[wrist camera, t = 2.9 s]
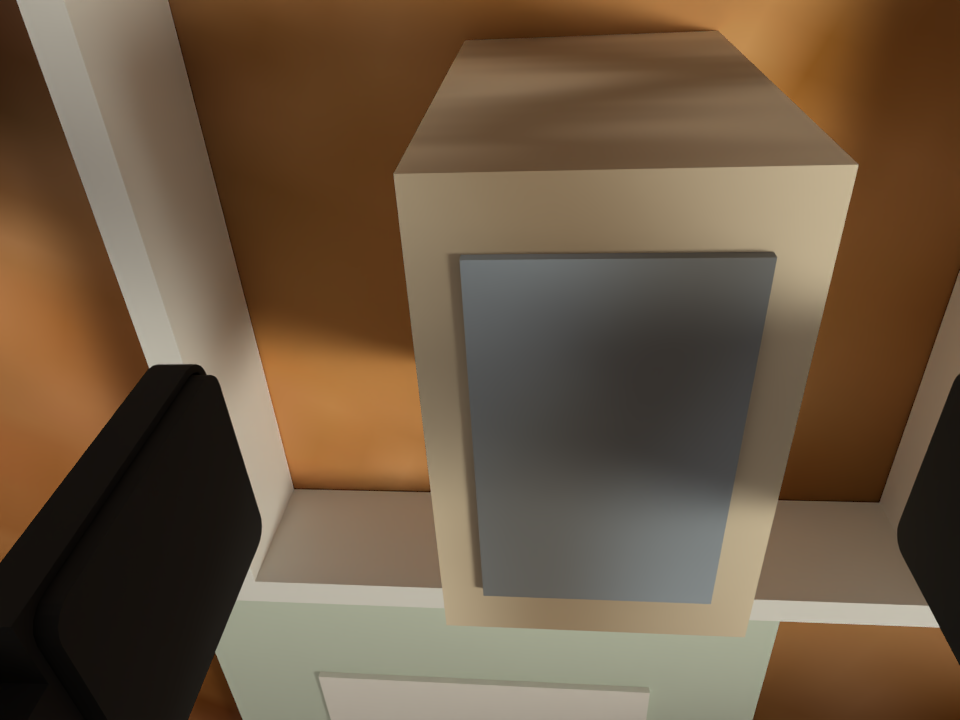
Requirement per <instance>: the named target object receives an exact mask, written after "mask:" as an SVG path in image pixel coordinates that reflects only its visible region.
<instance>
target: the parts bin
mask: <svg viewBox="0 0 960 720" xmlns="http://www.w3.org/2000/svg"><path fill="white" fill-rule="evenodd" d="M16 1H17V4H18V6H19V9H20V12H21V15H22V17H23V20H24V23H25V26H26V28H27V31H28V34H29V37H30V40H31V42H32V45H33V48H34V51H35V53H36V56H37V59H38V62H39V64H40V67H41V70H42V73H43V76H44V78H45V81H46V84H47V87H48V89H49V92H50V95H51V98H52V100H53V103H54V106H55V109H56V112H57V114H58V117H59V120H60V123H61V125H62V128H63V131H64V134H65V136H66V139H67V142H68V145H69V148H70V150H71V153H72V156H73V159H74V161H75V164H76V167H77V170H78V172H79V175H80V178H81V181H82V184H83V186H84V189H85V192H86V195H87V197H88V200H89V203H90V206H91V208H92V211H93V214H94V217H95V220H96V222H97V225H98V228H99V231H100V233H101V236H102V239H103V242H104V244H105V247H106V250H107V253H108V256H109V258H110V261H111V264H112V267H113V269H114V272H115V275H116V278H117V280H118V283H119V286H120V289H121V292H122V294H123V297H124V300H125V303H126V305H127V308H128V311H129V314H130V316H131V319H132V322H133V325H134V327H135V330H136V333H137V336H138V339H139V341H140V344H141V347H142V350H143V352H144V355H145V358H146V361H147V363H148V366H149V368H150V367H152V366H153V365H157V364H197V365H200V366H201V367H202V368H203V369H204V370H205V372H206V374H207V375H213V376H215V377H216V378H217V379H218V381H219V384H220V386H221V390H222V393H223V396H224V399H225V402H226V406H227V409H228V412H229V415H230V418H231V422H232V425H233V428H234V431H235V435H236V438H237V441H238V444H239V447H240V451H241V454H242V457H243V460H244V464H245V467H246V470H247V473H248V476H249V480H250V483H251V486H252V489H253V493H254V496H255V499H256V502H257V505H258V509H259V512H260V515H261V520H262V534H261V539H260V543H259V546H258V548H257V551H256V553H255V556H254V558H253V560H252V563H251V565H250V568H249V570H248V573H247V575H246V578H245V580H244V583H243V585H242V588H241V590H240V592H239V595H238V597H237V600H241V601H267V602H293V603H319V604H345V605H371V606H396V607H422V608H444V599H443V591H442V582H441V574H440V565H439V557H438V548H437V540H436V532H435V523H434V515H433V506H432V498H431V492H395V491H352V490H308V489H294V487H293V483H292V479H291V475H290V472H289V468H288V464H287V460H286V456H285V452H284V448H283V444H282V441H281V437H280V433H279V429H278V425H277V421H276V417H275V413H274V410H273V406H272V402H271V398H270V394H269V390H268V386H267V382H266V378H265V375H264V371H263V367H262V363H261V359H260V355H259V351H258V347H257V344H256V340H255V336H254V332H253V328H252V324H251V320H250V316H249V313H248V309H247V305H246V301H245V297H244V293H243V289H242V285H241V281H240V278H239V274H238V270H237V266H236V262H235V258H234V254H233V250H232V247H231V243H230V239H229V235H228V231H227V227H226V223H225V219H224V215H223V212H222V208H221V204H220V200H219V196H218V192H217V188H216V184H215V181H214V177H213V173H212V169H211V165H210V161H209V157H208V153H207V150H206V146H205V142H204V138H203V134H202V130H201V126H200V122H199V118H198V115H197V111H196V107H195V103H194V99H193V95H192V91H191V87H190V84H189V80H188V76H187V72H186V68H185V64H184V60H183V56H182V53H181V49H180V45H179V41H178V37H177V33H176V29H175V25H174V21H173V18H172V14H171V10H170V6H169V2H168V0H16ZM959 374H960V271H959V274H958V277H957V280H956V283H955V286H954V289H953V291H952V294H951V297H950V300H949V303H948V306H947V309H946V312H945V315H944V318H943V320H942V323H941V326H940V329H939V332H938V335H937V338H936V341H935V344H934V346H933V349H932V352H931V355H930V358H929V361H928V364H927V367H926V370H925V372H924V375H923V378H922V381H921V384H920V387H919V390H918V393H917V396H916V398H915V401H914V404H913V407H912V410H911V413H910V416H909V419H908V422H907V424H906V427H905V430H904V433H903V436H902V439H901V442H900V445H899V448H898V450H897V453H896V456H895V459H894V462H893V465H892V468H891V471H890V474H889V476H888V479H887V482H886V485H885V488H884V491H883V494H882V497H881V500H880V502H879V503H873V502H829V501H786V500H778V502H777V506H776V510H775V515H774V519H773V523H772V527H771V531H770V535H769V539H768V544H767V548H766V552H765V556H764V560H763V564H762V569H761V573H760V577H759V581H758V585H757V589H756V593H755V598H754V602H753V606H752V610H751V614H750V618H749V620H759V621H785V622H810V623H836V624H862V625H888V626H914V627H939V625H938V623H937V621H936V619H935V617H934V615H933V613H932V612H931V610H930V608H929V606H928V604H927V602H926V600H925V598H924V596H923V594H922V593H921V591H920V589H919V587H918V585H917V583H916V581H915V579H914V577H913V575H912V574H911V572H910V570H909V568H908V566H907V564H906V562H905V560H904V558H903V556H902V554H901V552H900V550H899V546H898V541H897V528H898V524H899V521H900V518H901V516H902V513H903V511H904V508H905V505H906V503H907V500H908V498H909V495H910V492H911V490H912V487H913V485H914V482H915V480H916V477H917V474H918V472H919V469H920V467H921V464H922V462H923V459H924V456H925V454H926V451H927V449H928V446H929V443H930V441H931V438H932V436H933V433H934V431H935V428H936V425H937V423H938V420H939V418H940V415H941V412H942V410H943V407H944V405H945V402H946V400H947V397H948V394H949V392H950V389H951V387H952V384H953V382H954V380H955V378H956V377H957V376H958V375H959Z"/></svg>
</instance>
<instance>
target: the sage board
mask: <svg viewBox="0 0 960 720" xmlns="http://www.w3.org/2000/svg"><path fill="white" fill-rule="evenodd" d="M779 623H780V621H759V620H749V623H748V627H747V631H746V635H745V637H725V636H700V635H676V634H651V633H627V632H602V631H577V630H553V629H528V628H503V627H479V626H454V625H446V616H445V608H422V607H396V606H371V605H345V604H319V603H293V602H267V601H241V600H236V602H235V605H234V607H233V610H232V612H231V615H230V617H229V620H228V622H227V624H226V627H225V629H224V632H223V634H222V637H221V639H220V642H219V644H218V647H217V649H216V652H215V653H216V655H217V658H218V660H219V663H220V665H221V667H222V670H223V672H224V675H225V677H226V680H227V682H228V685H229V687H230V690H231V692H232V695H233V697H234V699H235V702H236V704H237V707H238V709H239V712H240V714H241V717H242V719H243V720H753V717H754V713H755V709H756V706H757V702H758V699H759V695H760V691H761V688H762V684H763V681H764V677H765V673H766V670H767V666H768V663H769V659H770V655H771V652H772V648H773V644H774V641H775V637H776V634H777V630H778V626H779Z"/></svg>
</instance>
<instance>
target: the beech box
mask: <svg viewBox="0 0 960 720" xmlns="http://www.w3.org/2000/svg"><path fill="white" fill-rule="evenodd" d="M858 166H859V164H858V163H857V162H856V161H854V160H853V159H852V158H851V157H850V156H849V155H848V154H847V153H846V152H845V151H844V150H843V149H842V148H841V147H840V146H839V145H838V144H837V143H836V142H834V141H833V140H832V139H831V138H830V137H829V136H828V135H827V134H826V133H825V132H824V131H823V130H822V129H821V128H820V127H819V126H818V125H817V124H816V123H815V122H813V121H812V120H811V119H810V118H809V117H808V116H807V115H806V114H805V113H804V112H803V111H802V110H801V109H800V108H799V107H798V106H797V105H796V104H795V103H793V102H792V101H791V100H790V99H789V98H788V97H787V96H786V95H785V94H784V93H783V92H782V91H781V90H780V89H779V88H778V87H777V86H776V85H775V84H774V83H772V82H771V81H770V80H769V79H768V78H767V77H766V76H765V75H764V74H763V73H762V72H761V71H760V70H759V69H758V68H757V67H756V66H755V65H754V64H752V63H751V62H750V61H749V60H748V59H747V58H746V57H745V56H744V55H743V54H742V53H741V52H740V51H739V50H738V49H737V48H736V47H735V46H734V45H733V44H731V43H730V42H729V41H728V40H727V39H726V38H725V37H724V36H723V35H722V34H721V33H720V32H719V31H696V32H670V33H643V34H617V35H590V36H564V37H537V38H511V39H484V40H465V41H464V43H463V45H462V46H461V48H460V50H459V52H458V54H457V56H456V58H455V60H454V61H453V63H452V65H451V67H450V69H449V71H448V73H447V75H446V76H445V78H444V80H443V82H442V84H441V86H440V88H439V89H438V91H437V93H436V95H435V97H434V99H433V101H432V103H431V104H430V106H429V108H428V110H427V112H426V114H425V116H424V118H423V119H422V121H421V123H420V125H419V127H418V129H417V131H416V133H415V134H414V136H413V138H412V140H411V142H410V144H409V146H408V147H407V149H406V151H405V153H404V155H403V157H402V159H401V161H400V162H399V164H398V166H397V168H396V170H395V172H394V174H393V175H394V184H395V192H396V201H397V209H398V218H399V226H400V235H401V243H402V252H403V260H404V268H405V277H406V285H407V294H408V302H409V311H410V319H411V328H412V336H413V345H414V353H415V362H416V370H417V379H418V387H419V396H420V404H421V413H422V421H423V430H424V438H425V447H426V455H427V464H428V472H429V481H430V489H431V498H432V506H433V515H434V523H435V532H436V540H437V548H438V557H439V565H440V574H441V582H442V591H443V599H444V608H445V616H446V625H454V626H479V627H503V628H528V629H553V630H577V631H602V632H627V633H651V634H676V635H700V636H725V637H745V635H746V631H747V627H748V623H749V618H750V614H751V610H752V606H753V602H754V598H755V593H756V589H757V585H758V581H759V577H760V573H761V569H762V564H763V560H764V556H765V552H766V548H767V544H768V539H769V535H770V531H771V527H772V523H773V519H774V515H775V510H776V506H777V502H778V498H779V494H780V490H781V485H782V481H783V477H784V473H785V469H786V465H787V461H788V456H789V452H790V448H791V444H792V440H793V436H794V431H795V427H796V423H797V419H798V415H799V411H800V407H801V402H802V398H803V394H804V390H805V386H806V382H807V377H808V373H809V369H810V365H811V361H812V357H813V353H814V348H815V344H816V340H817V336H818V332H819V328H820V323H821V319H822V315H823V311H824V307H825V303H826V299H827V294H828V290H829V286H830V282H831V278H832V274H833V269H834V265H835V261H836V257H837V253H838V249H839V245H840V240H841V236H842V232H843V228H844V224H845V220H846V215H847V211H848V207H849V203H850V199H851V195H852V191H853V186H854V182H855V178H856V174H857V170H858Z"/></svg>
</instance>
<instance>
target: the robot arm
mask: <svg viewBox="0 0 960 720" xmlns="http://www.w3.org/2000/svg"><path fill="white" fill-rule="evenodd" d="M261 534H262V520H261V515H260V512H259V509H258V505H257V502H256V499H255V496H254V493H253V489H252V486H251V483H250V480H249V476H248V473H247V470H246V467H245V464H244V460H243V457H242V454H241V451H240V447H239V444H238V441H237V438H236V435H235V431H234V428H233V425H232V422H231V418H230V415H229V412H228V409H227V406H226V402H225V399H224V396H223V393H222V390H221V386H220V384H219V381H218V379H217V378H216V377H215V376H213V375H207V374H206V372H205V370H204V369H203V368H202V367H201V366H200V365H197V364H157V365H153V366H152V367H150V368H149V369H148V370H147V372H146V373H145V374H144V375H143V377H142V378H141V379H140V381H139V382H138V383H137V385H136V386H135V387H134V389H133V390H132V391H131V392H130V394H129V395H128V396H127V398H126V399H125V400H124V402H123V403H122V404H121V406H120V407H119V408H118V410H117V411H116V412H115V413H114V415H113V416H112V417H111V419H110V420H109V421H108V423H107V424H106V425H105V427H104V428H103V429H102V430H101V432H100V433H99V434H98V436H97V437H96V438H95V440H94V441H93V442H92V444H91V445H90V446H89V447H88V449H87V450H86V451H85V453H84V454H83V455H82V457H81V458H80V459H79V461H78V462H77V463H76V464H75V466H74V467H73V468H72V470H71V471H70V472H69V474H68V475H67V476H66V478H65V479H64V480H63V481H62V483H61V484H60V485H59V487H58V488H57V489H56V491H55V492H54V493H53V495H52V496H51V497H50V498H49V500H48V501H47V502H46V504H45V505H44V506H43V508H42V509H41V510H40V512H39V513H38V514H37V516H36V517H35V518H34V519H33V521H32V522H31V523H30V525H29V526H28V527H27V529H26V530H25V531H24V533H23V534H22V535H21V536H20V538H19V539H18V540H17V542H16V543H15V544H14V546H13V547H12V548H11V550H10V551H9V552H8V553H7V555H6V556H5V557H4V559H3V560H2V561H1V563H0V720H188V718H189V716H190V713H191V711H192V708H193V706H194V703H195V701H196V698H197V696H198V693H199V691H200V688H201V686H202V684H203V681H204V679H205V676H206V674H207V671H208V669H209V666H210V664H211V661H212V659H213V656H214V654H215V652H216V649H217V647H218V644H219V642H220V639H221V637H222V634H223V632H224V629H225V627H226V624H227V622H228V620H229V617H230V615H231V612H232V610H233V607H234V605H235V602H236V600H237V597H238V595H239V592H240V590H241V588H242V585H243V583H244V580H245V578H246V575H247V573H248V570H249V568H250V565H251V563H252V560H253V558H254V556H255V553H256V551H257V548H258V546H259V543H260V539H261ZM897 541H898V546H899V550H900V552H901V554H902V556H903V558H904V560H905V562H906V564H907V566H908V568H909V570H910V572H911V574H912V575H913V577H914V579H915V581H916V583H917V585H918V587H919V589H920V591H921V593H922V594H923V596H924V598H925V600H926V602H927V604H928V606H929V608H930V610H931V612H932V613H933V615H934V617H935V619H936V621H937V623H938V625H939V627H940V629H941V631H942V632H943V634H944V636H945V638H946V640H947V642H948V644H949V646H950V648H951V650H952V651H953V653H954V655H955V657H956V659H957V661H958V663H959V665H960V374H959V375H958V376H957V377H956V378H955V380H954V382H953V384H952V387H951V389H950V392H949V394H948V397H947V400H946V402H945V405H944V407H943V410H942V412H941V415H940V418H939V420H938V423H937V425H936V428H935V431H934V433H933V436H932V438H931V441H930V443H929V446H928V449H927V451H926V454H925V456H924V459H923V462H922V464H921V467H920V469H919V472H918V474H917V477H916V480H915V482H914V485H913V487H912V490H911V492H910V495H909V498H908V500H907V503H906V505H905V508H904V511H903V513H902V516H901V518H900V521H899V524H898V528H897Z"/></svg>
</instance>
